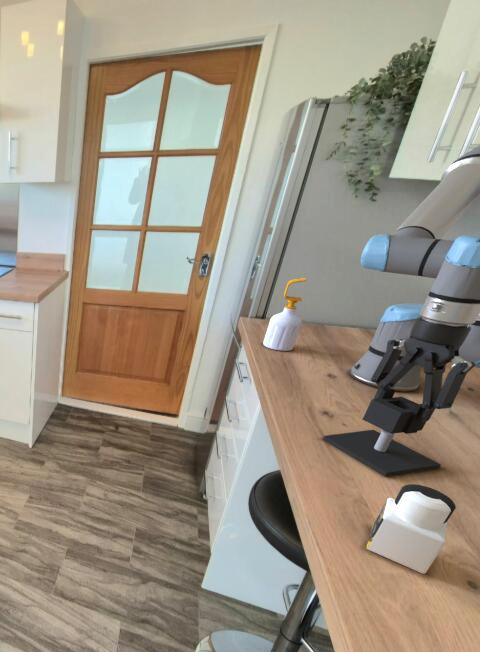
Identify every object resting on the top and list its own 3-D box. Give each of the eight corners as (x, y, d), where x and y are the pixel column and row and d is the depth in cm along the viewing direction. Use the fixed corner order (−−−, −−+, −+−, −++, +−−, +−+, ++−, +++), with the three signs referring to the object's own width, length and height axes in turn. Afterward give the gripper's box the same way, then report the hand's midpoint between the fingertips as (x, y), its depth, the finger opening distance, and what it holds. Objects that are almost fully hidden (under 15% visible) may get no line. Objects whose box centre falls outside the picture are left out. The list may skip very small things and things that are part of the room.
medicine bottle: (371, 527, 76) (401, 473, 70) (427, 550, 71) (464, 494, 66) (365, 549, 71) (396, 493, 66) (424, 575, 67) (463, 517, 61)
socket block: (391, 416, 95) (401, 396, 93) (421, 430, 90) (433, 409, 88) (362, 419, 94) (371, 399, 92) (390, 434, 89) (401, 413, 87)
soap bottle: (293, 353, 148) (318, 282, 137) (262, 348, 152) (284, 279, 142) (292, 345, 155) (315, 277, 144) (262, 340, 159) (283, 274, 148)
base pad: (371, 433, 103) (381, 413, 100) (439, 468, 90) (451, 446, 88) (322, 439, 101) (331, 419, 98) (384, 476, 88) (396, 454, 86)
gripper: (377, 308, 90) (336, 404, 100) (492, 338, 73) (428, 450, 83) (406, 306, 91) (362, 401, 101) (525, 336, 74) (459, 446, 84)
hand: (392, 423), depth 92 cm, fingers closed on socket block, 6 cm apart
